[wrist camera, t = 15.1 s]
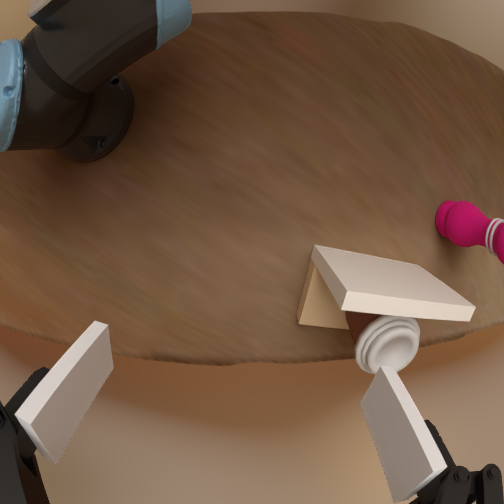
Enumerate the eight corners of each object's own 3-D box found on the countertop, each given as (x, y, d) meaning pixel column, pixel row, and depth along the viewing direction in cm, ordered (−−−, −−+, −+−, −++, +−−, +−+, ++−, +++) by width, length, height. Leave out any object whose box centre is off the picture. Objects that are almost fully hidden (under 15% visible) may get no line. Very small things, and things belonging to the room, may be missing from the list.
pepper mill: (460, 237, 39) (539, 277, 19) (431, 240, 39) (514, 285, 20) (462, 197, 36) (548, 222, 17) (433, 197, 37) (524, 222, 18)
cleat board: (314, 244, 39) (347, 290, 24) (417, 264, 40) (475, 307, 25) (296, 314, 43) (313, 383, 27) (395, 324, 43) (438, 380, 28)
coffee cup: (357, 342, 41) (382, 392, 29) (323, 310, 39) (344, 361, 28) (399, 305, 39) (436, 346, 27) (369, 268, 37) (407, 306, 26)
